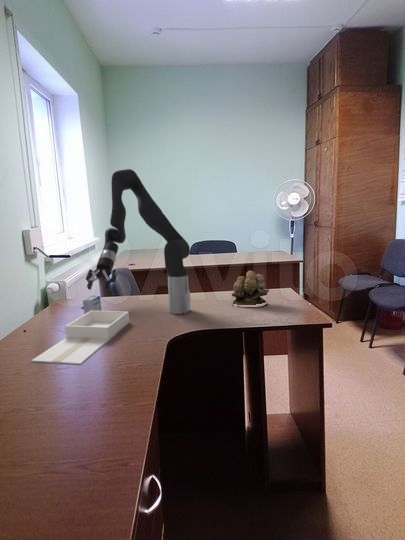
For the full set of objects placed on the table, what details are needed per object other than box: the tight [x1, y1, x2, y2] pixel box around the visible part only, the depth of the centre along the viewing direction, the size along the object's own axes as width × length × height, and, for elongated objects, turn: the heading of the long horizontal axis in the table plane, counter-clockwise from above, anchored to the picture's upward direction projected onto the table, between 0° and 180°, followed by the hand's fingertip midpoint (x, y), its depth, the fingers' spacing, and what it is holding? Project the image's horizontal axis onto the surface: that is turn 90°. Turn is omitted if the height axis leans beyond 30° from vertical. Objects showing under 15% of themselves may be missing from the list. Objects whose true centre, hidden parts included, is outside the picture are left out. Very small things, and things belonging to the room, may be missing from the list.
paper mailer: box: [31, 310, 130, 365], centre depth 123 cm, size 17×38×5 cm, turn 169°
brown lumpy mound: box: [231, 270, 270, 305], centre depth 160 cm, size 18×12×17 cm, turn 88°
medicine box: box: [82, 295, 103, 315], centre depth 151 cm, size 8×4×9 cm, turn 168°
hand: (97, 289), depth 155 cm, fingers open, 8 cm apart
